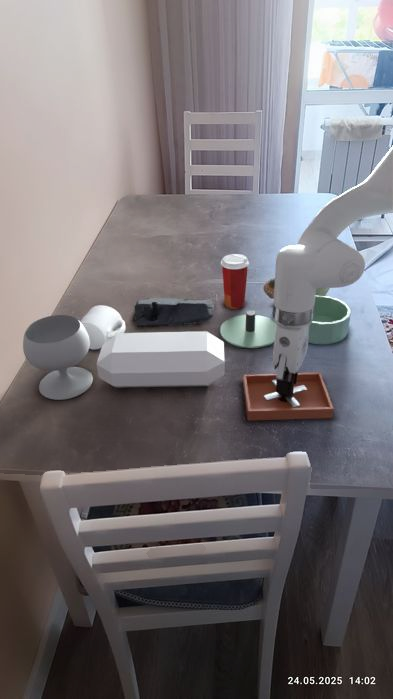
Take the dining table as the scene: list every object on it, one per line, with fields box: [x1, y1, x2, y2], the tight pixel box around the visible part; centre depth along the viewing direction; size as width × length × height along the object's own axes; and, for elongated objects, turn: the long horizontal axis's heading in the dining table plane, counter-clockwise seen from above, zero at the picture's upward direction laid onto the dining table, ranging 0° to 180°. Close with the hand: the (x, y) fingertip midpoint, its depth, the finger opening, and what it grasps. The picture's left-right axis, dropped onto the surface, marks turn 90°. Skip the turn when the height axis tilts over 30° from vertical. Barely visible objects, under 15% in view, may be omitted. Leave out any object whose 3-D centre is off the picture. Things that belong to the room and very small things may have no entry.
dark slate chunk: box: [134, 297, 215, 328], centre depth 134 cm, size 15×22×5 cm
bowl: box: [308, 295, 352, 345], centre depth 124 cm, size 15×15×6 cm
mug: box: [80, 304, 126, 350], centre depth 123 cm, size 12×9×8 cm
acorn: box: [262, 277, 275, 300], centre depth 134 cm, size 8×8×10 cm
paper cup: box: [220, 253, 250, 310], centre depth 135 cm, size 8×8×14 cm
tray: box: [242, 372, 335, 421], centre depth 103 cm, size 17×12×2 cm
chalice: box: [22, 314, 94, 401], centre depth 107 cm, size 14×14×15 cm
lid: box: [219, 310, 277, 349], centre depth 124 cm, size 16×16×6 cm
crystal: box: [96, 330, 226, 389], centre depth 109 cm, size 14×10×28 cm
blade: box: [263, 370, 307, 408], centre depth 101 cm, size 10×10×8 cm
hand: (286, 387), depth 101 cm, fingers closed on blade, 3 cm apart
